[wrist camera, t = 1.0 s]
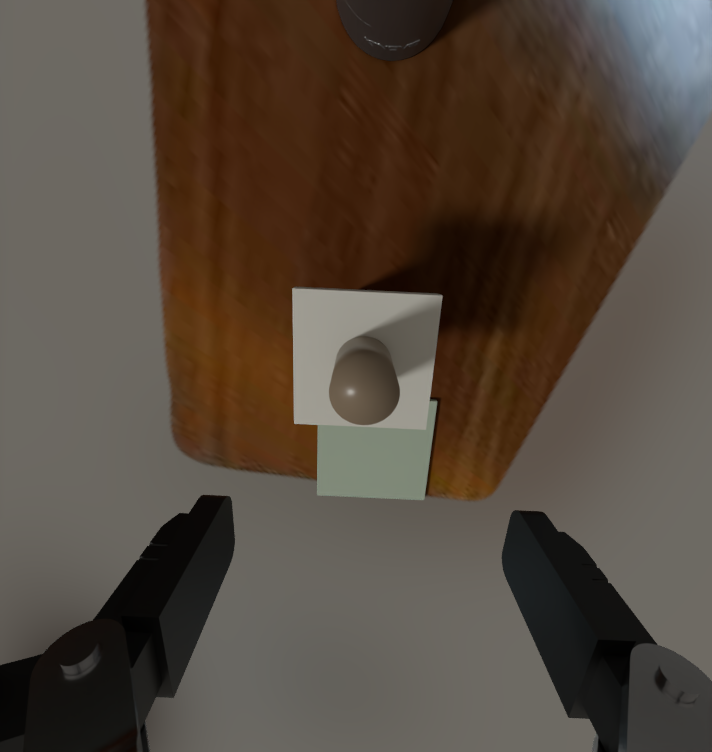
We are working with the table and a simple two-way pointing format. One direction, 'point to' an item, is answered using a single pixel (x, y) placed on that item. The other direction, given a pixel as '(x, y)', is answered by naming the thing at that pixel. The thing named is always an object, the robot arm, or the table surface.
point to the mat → (374, 460)
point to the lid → (363, 356)
